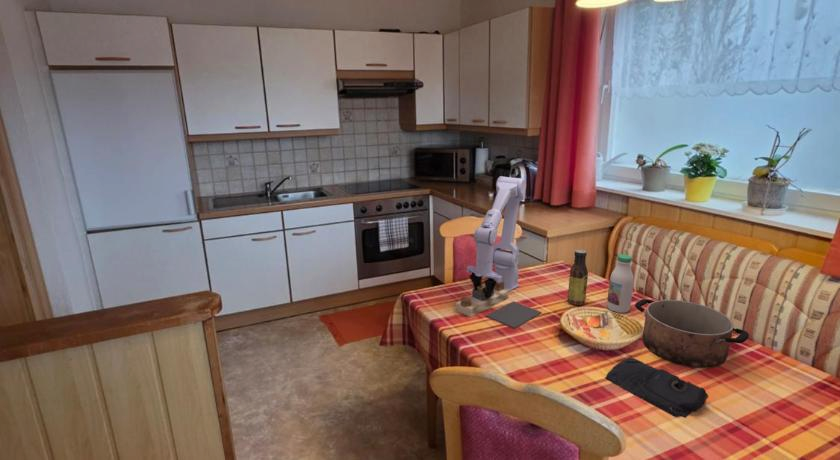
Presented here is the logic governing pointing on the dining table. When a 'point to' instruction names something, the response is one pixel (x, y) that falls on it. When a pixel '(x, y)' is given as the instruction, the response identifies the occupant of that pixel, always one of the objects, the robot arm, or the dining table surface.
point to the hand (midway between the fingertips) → (483, 294)
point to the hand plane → (475, 306)
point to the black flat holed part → (658, 387)
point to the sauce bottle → (578, 279)
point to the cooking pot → (688, 332)
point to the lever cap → (480, 292)
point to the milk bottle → (621, 285)
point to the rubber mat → (513, 314)
